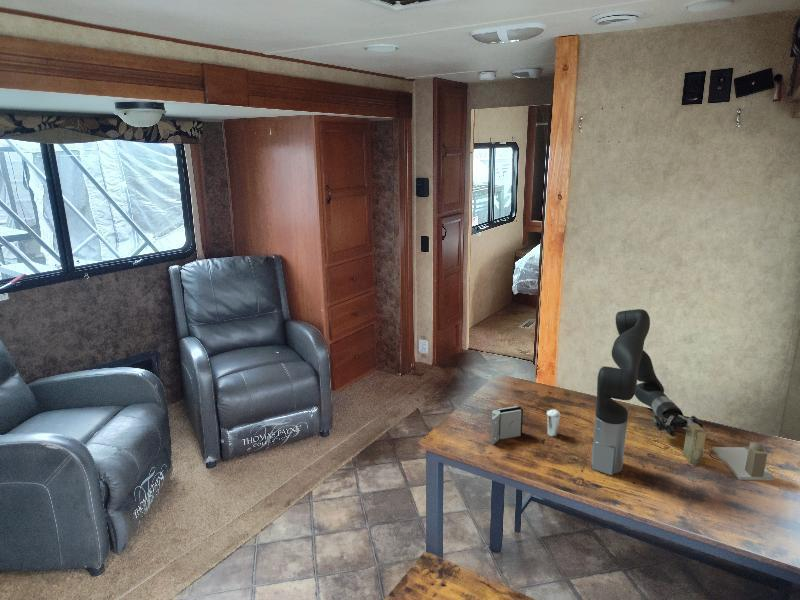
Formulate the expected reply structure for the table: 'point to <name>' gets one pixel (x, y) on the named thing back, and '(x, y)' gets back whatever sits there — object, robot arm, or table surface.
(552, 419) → the milkshake
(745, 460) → the mounting plate
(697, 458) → the brown tall block
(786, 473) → the table surface
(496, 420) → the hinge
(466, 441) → the table surface
